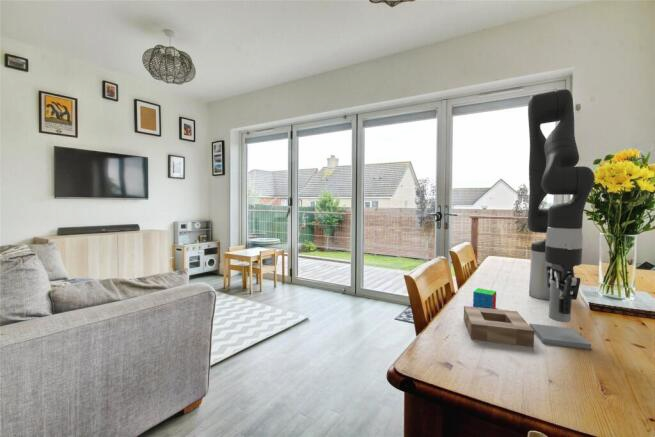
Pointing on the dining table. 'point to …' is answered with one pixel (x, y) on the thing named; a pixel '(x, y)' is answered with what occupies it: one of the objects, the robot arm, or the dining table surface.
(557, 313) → the grey hollow tube
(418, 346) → the dining table surface
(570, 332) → the coaster
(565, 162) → the robot arm
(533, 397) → the dining table surface
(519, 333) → the socket block
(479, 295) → the puzzle toy
